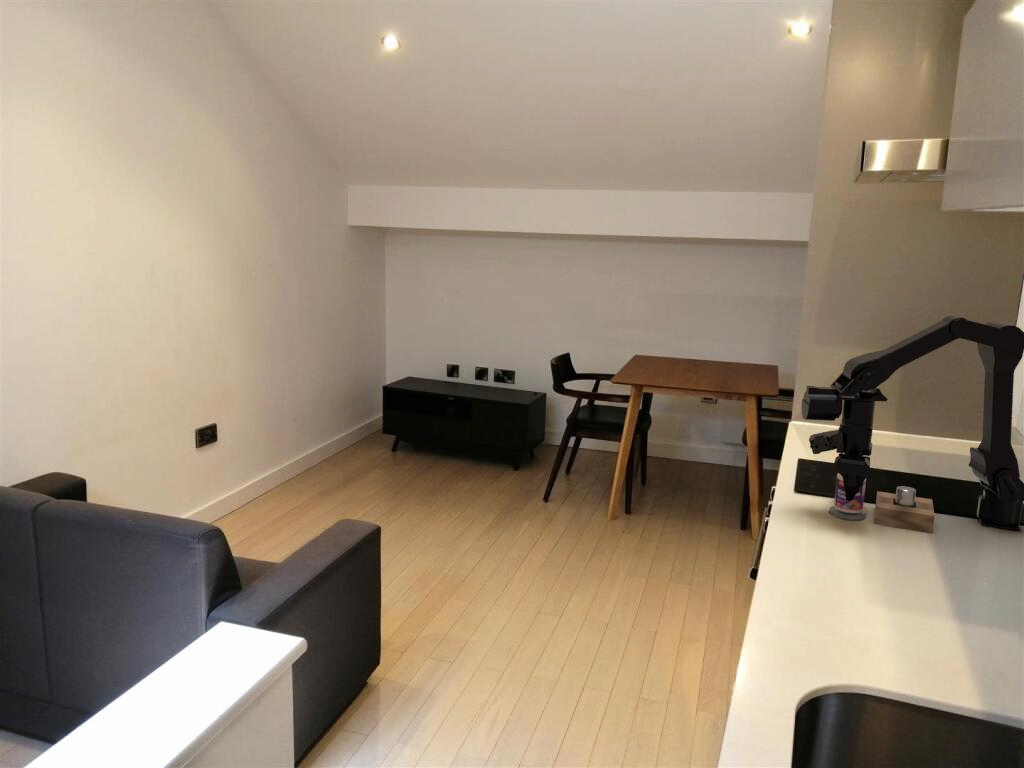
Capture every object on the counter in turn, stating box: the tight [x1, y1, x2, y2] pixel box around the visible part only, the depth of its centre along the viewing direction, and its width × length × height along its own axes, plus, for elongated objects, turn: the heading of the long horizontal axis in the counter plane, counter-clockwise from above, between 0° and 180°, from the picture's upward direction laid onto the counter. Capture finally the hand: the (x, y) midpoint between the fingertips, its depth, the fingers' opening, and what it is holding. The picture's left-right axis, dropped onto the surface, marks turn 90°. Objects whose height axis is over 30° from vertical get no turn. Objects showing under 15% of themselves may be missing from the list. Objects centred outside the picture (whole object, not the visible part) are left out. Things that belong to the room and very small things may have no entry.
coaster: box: [828, 505, 867, 522], centre depth 150 cm, size 7×7×1 cm
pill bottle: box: [833, 473, 867, 513], centre depth 149 cm, size 5×5×10 cm
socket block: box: [873, 490, 935, 534], centre depth 147 cm, size 10×10×4 cm
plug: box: [895, 485, 917, 508], centre depth 146 cm, size 3×3×6 cm
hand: (849, 495), depth 149 cm, fingers open, 5 cm apart
